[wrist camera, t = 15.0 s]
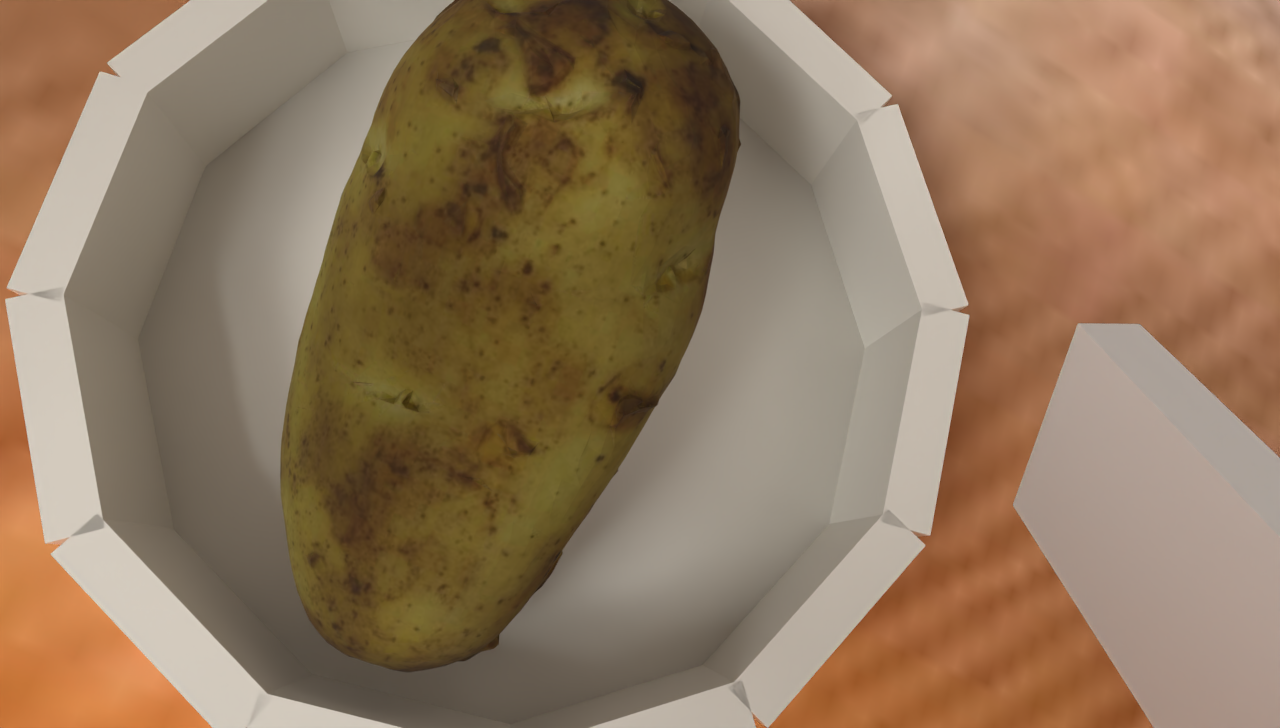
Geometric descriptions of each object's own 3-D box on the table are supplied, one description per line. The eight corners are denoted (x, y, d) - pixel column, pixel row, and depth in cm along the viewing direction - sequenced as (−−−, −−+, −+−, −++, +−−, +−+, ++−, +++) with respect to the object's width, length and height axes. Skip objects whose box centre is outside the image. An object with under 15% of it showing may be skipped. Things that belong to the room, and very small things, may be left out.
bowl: (797, 838, 22) (864, 905, 17) (-7, 637, 21) (-152, 654, 16) (937, 125, 26) (1019, 34, 21) (273, -67, 25) (218, -204, 21)
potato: (147, 460, 21) (-82, 391, 13) (534, 57, 24) (536, -193, 16) (442, 710, 20) (386, 793, 13) (799, 268, 23) (931, 116, 16)
